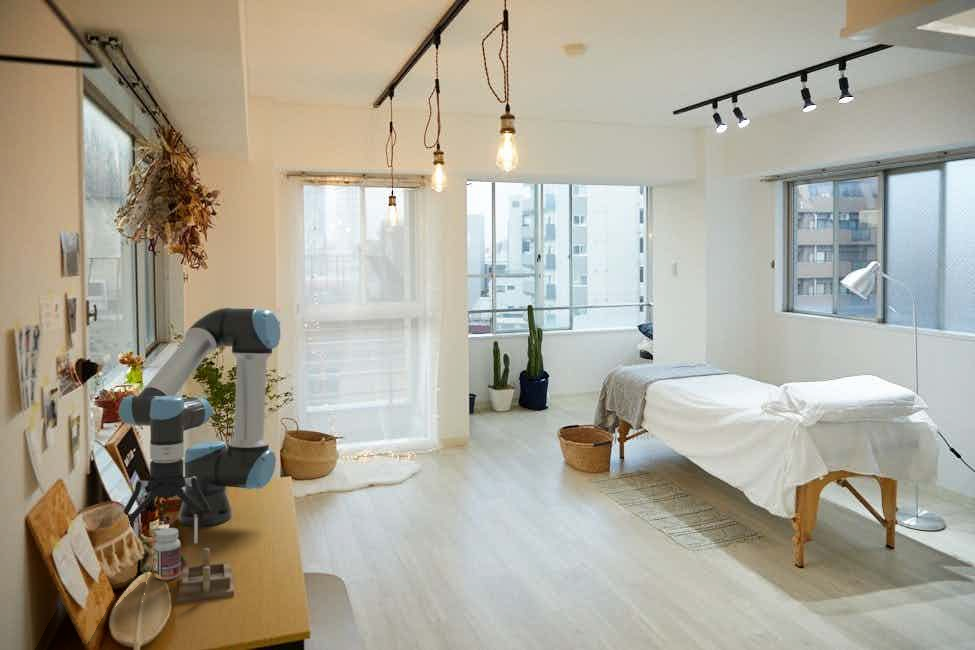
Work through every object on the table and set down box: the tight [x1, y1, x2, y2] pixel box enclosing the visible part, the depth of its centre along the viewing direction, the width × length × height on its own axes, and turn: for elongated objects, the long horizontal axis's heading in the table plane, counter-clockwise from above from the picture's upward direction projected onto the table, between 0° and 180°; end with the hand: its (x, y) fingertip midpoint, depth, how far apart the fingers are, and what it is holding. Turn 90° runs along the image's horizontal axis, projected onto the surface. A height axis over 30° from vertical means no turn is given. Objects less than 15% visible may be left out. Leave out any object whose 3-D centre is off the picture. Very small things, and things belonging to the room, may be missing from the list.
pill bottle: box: [153, 527, 182, 581], centre depth 181 cm, size 6×6×11 cm
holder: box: [177, 547, 235, 604], centre depth 175 cm, size 14×12×7 cm
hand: (166, 544), depth 180 cm, fingers open, 13 cm apart
